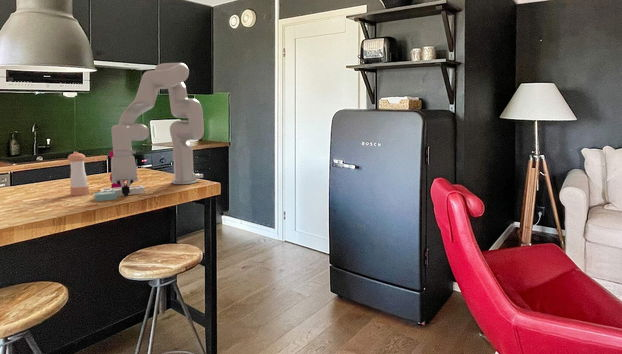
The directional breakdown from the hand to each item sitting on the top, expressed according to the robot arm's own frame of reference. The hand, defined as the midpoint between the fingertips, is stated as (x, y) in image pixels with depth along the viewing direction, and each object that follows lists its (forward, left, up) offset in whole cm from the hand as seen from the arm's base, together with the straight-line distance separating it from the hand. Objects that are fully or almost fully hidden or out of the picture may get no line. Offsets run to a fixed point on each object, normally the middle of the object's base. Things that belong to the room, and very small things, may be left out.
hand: (126, 195), depth 193 cm
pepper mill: (0, -25, -1) cm, 25 cm away
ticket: (0, -7, -1) cm, 7 cm away
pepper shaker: (+17, -17, -1) cm, 24 cm away
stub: (+8, 0, -1) cm, 8 cm away
